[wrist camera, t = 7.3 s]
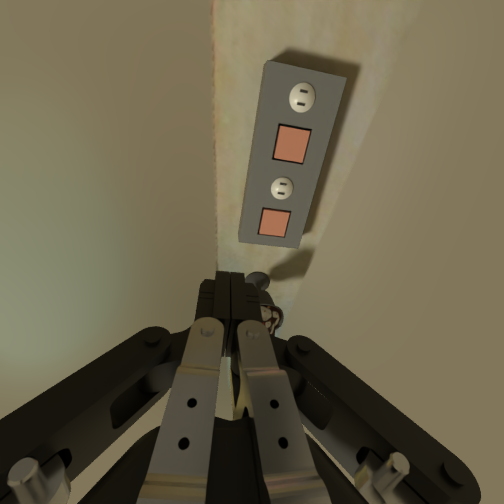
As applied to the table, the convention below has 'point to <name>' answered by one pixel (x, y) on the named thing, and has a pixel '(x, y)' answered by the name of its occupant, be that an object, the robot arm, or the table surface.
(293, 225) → the power strip
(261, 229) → the switch
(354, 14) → the table surface
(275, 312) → the sundae
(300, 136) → the switch
